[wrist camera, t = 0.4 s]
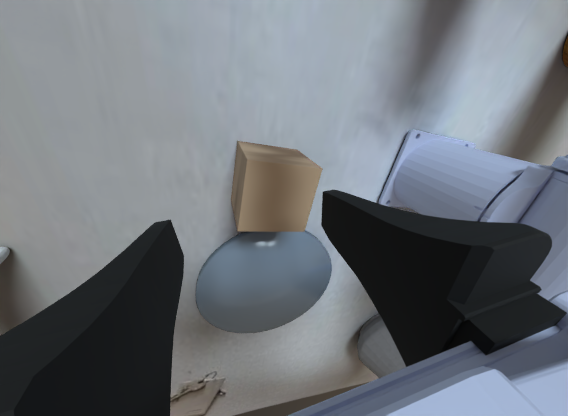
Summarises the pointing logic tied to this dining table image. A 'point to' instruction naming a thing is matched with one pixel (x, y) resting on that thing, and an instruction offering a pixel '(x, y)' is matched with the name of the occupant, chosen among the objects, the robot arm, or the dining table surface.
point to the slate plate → (262, 280)
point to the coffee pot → (378, 348)
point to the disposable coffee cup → (565, 53)
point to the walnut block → (272, 188)
